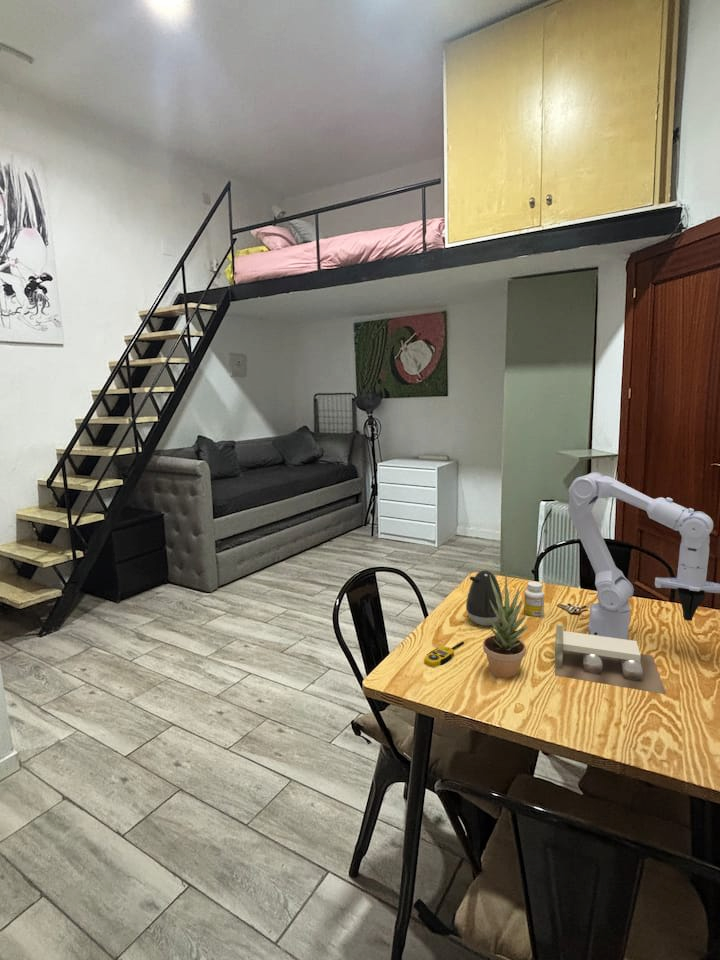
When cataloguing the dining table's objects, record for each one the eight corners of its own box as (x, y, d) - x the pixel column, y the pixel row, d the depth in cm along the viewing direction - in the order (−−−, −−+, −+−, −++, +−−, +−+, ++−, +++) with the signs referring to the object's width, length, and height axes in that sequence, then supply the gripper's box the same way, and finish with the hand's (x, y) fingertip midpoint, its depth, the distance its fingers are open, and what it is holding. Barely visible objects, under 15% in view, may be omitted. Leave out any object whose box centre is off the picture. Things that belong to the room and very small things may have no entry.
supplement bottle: (529, 609, 153) (530, 578, 151) (546, 615, 149) (548, 583, 147) (520, 615, 149) (521, 583, 147) (537, 621, 145) (539, 588, 144)
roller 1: (596, 677, 116) (579, 667, 117) (593, 655, 125) (578, 646, 126) (606, 664, 115) (589, 654, 116) (602, 643, 124) (587, 634, 125)
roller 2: (634, 683, 113) (618, 672, 114) (629, 661, 123) (614, 650, 123) (647, 672, 112) (631, 660, 113) (640, 650, 121) (625, 639, 122)
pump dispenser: (458, 618, 148) (458, 568, 145) (486, 611, 152) (487, 562, 150) (481, 633, 139) (482, 579, 136) (510, 624, 143) (512, 573, 141)
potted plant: (474, 668, 121) (476, 568, 117) (506, 659, 125) (509, 562, 121) (501, 690, 112) (505, 583, 108) (535, 680, 116) (540, 576, 112)
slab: (562, 649, 119) (563, 643, 119) (562, 636, 126) (563, 630, 126) (640, 661, 114) (640, 655, 113) (635, 646, 120) (636, 641, 120)
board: (554, 679, 116) (556, 650, 115) (555, 644, 132) (556, 619, 131) (665, 698, 108) (668, 667, 107) (652, 659, 124) (654, 632, 123)
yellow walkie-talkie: (420, 656, 124) (455, 635, 134) (420, 663, 124) (455, 641, 135) (436, 663, 121) (471, 641, 131) (436, 671, 121) (471, 648, 131)
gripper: (660, 566, 119) (655, 621, 121) (735, 573, 113) (728, 630, 116) (655, 557, 125) (650, 609, 127) (725, 563, 120) (719, 617, 122)
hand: (687, 618), depth 122 cm, fingers closed
